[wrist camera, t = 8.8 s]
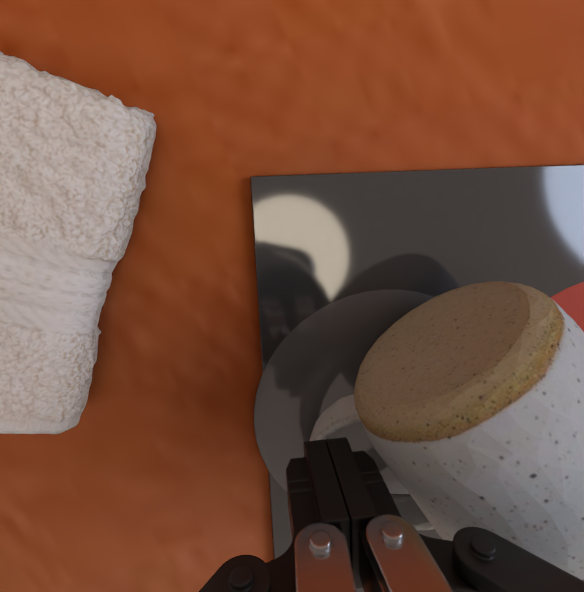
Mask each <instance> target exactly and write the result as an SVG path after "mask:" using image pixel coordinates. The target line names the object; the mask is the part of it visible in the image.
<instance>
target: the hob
mask: <svg viewBox="0 0 584 592" xmlns="http://www.w3.org/2000/svg"><path fill="white" fill-rule="evenodd" d="M250 178H251V194H252V210H253V226H254V242H255V258H256V274H257V290H258V306H259V322H260V338H261V354H262V370H263V374H262V376H261V379H260V382H259V386H258V389H257V393H256V399H255V406H254V428H255V435H256V441H257V444H258V447H259V451H260V454H261V456H262V458H263V460H264V462H265V464H266V467H267V468H268V470H269V481H270V497H271V513H272V529H273V545H274V559H276V558H278V557H280V556H281V555H282V554H284V553H285V552H286V551H287V549H288V548H289V547H290V545H291V543H292V535H291V526H290V518H289V510H288V496H287V480H286V468H287V466H288V464H289V461H290V459H292V458H301V457H304V442H305V441H310V437H311V434H312V431H313V428H314V426H315V423H316V421H317V420H318V418H319V417H320V415H321V414H322V413H323V412H324V411H325V410H326V409H327V408H329V407H330V406H331V405H332V404H333V403H335V402H336V401H337V400H338V399H341V398H343V397H346V396H348V395H352V394H354V388H355V382H356V379H357V375H358V372H359V368H360V365H361V363H362V362H363V360H364V358H365V356H366V354H367V352H368V351H369V350H370V348H371V347H372V346H373V344H374V343H375V342H376V341H377V339H378V338H379V337H380V336H381V335H382V334H383V333H384V332H386V331H387V330H388V329H389V328H390V327H391V326H392V325H393V324H394V323H395V322H396V321H398V320H399V319H400V318H402V317H403V316H404V315H406V314H407V313H408V312H410V311H411V310H413V309H415V308H416V307H418V306H420V305H421V304H423V303H425V302H427V301H428V300H430V299H432V298H434V297H436V296H438V295H441V294H443V293H445V292H448V291H450V290H453V289H457V288H460V287H464V286H467V285H470V284H476V283H482V282H489V281H502V282H511V283H519V284H523V285H526V286H530V287H533V288H535V289H537V290H539V291H541V292H543V293H544V294H546V295H547V296H548V297H550V298H551V299H552V300H554V301H555V302H556V303H557V304H558V305H559V306H560V307H561V308H562V309H563V310H564V311H565V312H566V313H567V314H568V315H569V316H570V317H571V318H572V319H573V320H574V321H575V322H576V324H577V325H578V326H579V327H580V328H581V329H582V330H583V332H584V165H557V166H529V167H501V168H474V169H446V170H418V171H391V172H363V173H335V174H307V175H280V176H252V177H250ZM342 437H346V438H347V439H348V442H349V444H350V447H351V449H352V452H355V451H365V452H366V453H367V454H368V455H369V456H370V457H372V458H373V459H374V461H375V463H376V465H377V467H378V469H379V472H380V473H381V475H382V477H383V479H384V482H385V484H386V486H387V488H388V490H389V492H390V493H391V494H409V492H408V491H407V490H406V488H405V487H404V486H403V485H402V483H401V482H400V481H399V480H398V479H397V478H396V476H395V475H394V474H393V473H392V472H391V470H390V469H389V467H388V466H387V465H386V463H385V462H384V461H383V459H382V458H381V457H380V455H379V454H378V453H377V451H376V450H375V448H374V446H373V444H372V442H371V441H370V439H369V437H368V435H367V434H366V431H365V429H364V427H363V425H362V422H361V421H360V422H354V423H352V424H350V425H348V426H346V427H342V428H340V429H339V430H337V431H336V432H334V433H332V434H330V435H329V436H327V438H326V439H332V438H342ZM417 532H418V533H419V534H422V535H424V536H427V537H431V538H436V539H442V538H441V537H440V535H439V534H438V533H437V531H436V530H435V529H433V530H419V531H417ZM442 540H443V539H442ZM356 592H364V590H363V588H359V589H356Z"/></svg>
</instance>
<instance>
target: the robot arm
mask: <svg viewBox="0 0 584 592" xmlns="http://www.w3.org/2000/svg"><path fill="white" fill-rule="evenodd" d="M286 480H287V496H288V510H289V518H290V526H291V535H292V543H291V545H290V547H289V548H288V549H287V551H286V552H285V553H284V554H282V555H281V556H280V557H278V558H276V559H274V560H272V561H270V562H268V563H265V562H264V561H263V560H261V559H260V558H258V557H256V556H252V555H240V556H236V557H234V558H231V559H230V560H228V561H226V562H225V563H224V564H223V565H222V566H221V567H220V568H219V569H218V570H217V571H216V573H215V574H214V575H213V576H212V577H211V578H210V580H209V581H208V582H207V583H206V584H205V585H204V586H203V588H202V589H201V590H200V591H199V592H356V589H359V588H363V590H364V592H584V581H583V580H581V579H579V578H577V577H575V576H573V575H571V574H569V573H568V572H566V571H564V570H562V569H560V568H558V567H556V566H555V565H553V564H551V563H549V562H547V561H545V560H543V559H541V558H540V557H538V556H536V555H534V554H532V553H530V552H528V551H527V550H525V549H523V548H521V547H519V546H517V545H515V544H513V543H512V542H510V541H508V540H506V539H504V538H502V537H500V536H499V535H497V534H495V533H493V532H491V531H489V530H486V529H483V528H479V527H465V528H462V529H460V530H458V531H457V532H456V533H455V535H454V537H453V541H449V540H442V539H436V538H431V537H427V536H424V535H422V534H419V533H418V532H417V530H416V528H415V527H414V526H413V525H412V524H411V523H410V522H409V521H407V520H406V519H404V518H402V517H401V515H400V513H399V511H398V509H397V507H396V504H395V502H394V500H393V498H392V496H391V494H390V492H389V490H388V488H387V486H386V484H385V482H384V479H383V477H382V475H381V473H380V472H379V469H378V467H377V465H376V463H375V461H374V459H373V458H372V457H370V456H369V455H368V454H367V453H366V452H365V451H355V452H352V449H351V447H350V444H349V442H348V439H347V438H346V437H342V438H332V439H325V440H314V441H305V442H304V457H301V458H292V459H290V461H289V464H288V466H287V468H286Z"/></svg>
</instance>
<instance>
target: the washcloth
mask: <svg viewBox="0 0 584 592" xmlns="http://www.w3.org/2000/svg"><path fill="white" fill-rule="evenodd" d="M153 117H154V114H153V113H151V112H147V111H145V110H143V109H139V108H138V107H126V106H124V105H123V104H122V102H121V101H120V99H117V98H115V97H114V96H112V95H110V96H108V97H106V96H104V95H103V94H102V93H101V92H99V91H98V90H96V89H91V88H87V87H85V86H81V85H79V84H76V83H74V82H72V81H70V80H66V79H65V78H63V77H59V76H54V75H51V74H49V73H48V72H46V71H42V72H40V71H38V70H36V69H35V68H34V67H33V66H31V65H30V64H29V63H27V62H26V61H25V60H22V59H19V58H17V57H14V56H6V55H4V54H3V53H2V52H0V433H4V434H9V433H12V434H38V433H39V434H45V433H46V434H60V433H62V432H64V431H66V430H68V429H71V428H73V427H75V426H76V425H77V424H78V423H79V421H80V416H81V414H82V411H83V410H84V408H85V406H86V404H87V400H88V394H89V388H90V385H91V382H92V373H93V366H94V364H95V363H96V361H97V353H98V338H99V335H100V333H101V331H100V330H99V328H98V326H97V325H98V321H99V317H100V312H101V309H102V306H103V305H104V303H105V299H106V296H107V293H106V292H107V290H108V289H109V288H110V285H111V281H112V272H113V270H114V268H115V266H116V264H117V262H118V261H119V260H120V259H122V257H123V256H124V253H125V251H126V248H127V245H128V243H129V240H130V237H131V234H132V231H133V221H134V218H135V216H136V214H137V213H138V208H139V201H140V195H141V193H142V191H143V190H144V189H145V187H146V182H145V175H146V173H147V171H148V167H149V162H150V159H151V154H152V148H153V144H154V140H155V138H156V128H157V126H156V123H155V121H154V119H153Z"/></svg>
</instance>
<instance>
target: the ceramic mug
mask: <svg viewBox="0 0 584 592" xmlns="http://www.w3.org/2000/svg"><path fill="white" fill-rule="evenodd" d="M360 421H361V422H362V425H363V427H364V429H365V431H366V434H367V435H368V437H369V439H370V441H371V442H372V444H373V446H374V448H375V450H376V451H377V453H378V454H379V455H380V457H381V458H382V459H383V461H384V462H385V463H386V465H387V466H388V467H389V469H390V470H391V472H392V473H393V474H394V475H395V476H396V478H397V479H398V480H399V481H400V482H401V483H402V485H403V486H404V487H405V488H406V490H407V491H408V492H409V494H391V493H390V494H391V496H392V498H393V500H394V502H395V504H396V507H397V509H398V511H399V513H400V515H401V517H402V518H404V519H406V520H407V521H409V522H410V523H411V524H412V525H413V526H414V527H415V528H416V530H417V531H419V530H433V529H435V530H436V531H437V533H438V534H439V535H440V537H441V538H442V539H443V540H449V541H453V537H454V535H455V533H456V532H457V531H458V530H460V529H462V528H465V527H479V528H483V529H486V530H489V531H491V532H493V533H495V534H497V535H499V536H500V537H502V538H504V539H506V540H508V541H510V542H512V543H513V544H515V545H517V546H519V547H521V548H523V549H525V550H527V551H528V552H530V553H532V554H534V555H536V556H538V557H540V558H541V559H543V560H545V561H547V562H549V563H551V564H553V565H555V566H556V567H558V568H560V569H562V570H564V571H566V572H568V573H569V574H571V575H573V576H575V577H577V578H579V579H581V580H583V581H584V332H583V330H582V329H581V328H580V327H579V326H578V325H577V324H576V322H575V321H574V320H573V319H572V318H571V317H570V316H569V315H568V314H567V313H566V312H565V311H564V310H563V309H562V308H561V307H560V306H559V305H558V304H557V303H556V302H555V301H554V300H552V299H551V298H550V297H548V296H547V295H546V294H544V293H543V292H541V291H539V290H537V289H535V288H533V287H530V286H526V285H523V284H519V283H511V282H502V281H489V282H482V283H476V284H470V285H467V286H464V287H460V288H457V289H453V290H450V291H448V292H445V293H443V294H441V295H438V296H436V297H434V298H432V299H430V300H428V301H427V302H425V303H423V304H421V305H420V306H418V307H416V308H415V309H413V310H411V311H410V312H408V313H407V314H406V315H404V316H403V317H402V318H400V319H399V320H398V321H396V322H395V323H394V324H393V325H392V326H391V327H390V328H389V329H388V330H387V331H386V332H384V333H383V334H382V335H381V336H380V337H379V338H378V339H377V341H376V342H375V343H374V344H373V346H372V347H371V348H370V350H369V351H368V352H367V354H366V356H365V358H364V360H363V362H362V363H361V365H360V368H359V372H358V375H357V379H356V382H355V388H354V394H352V395H348V396H346V397H343V398H341V399H338V400H337V401H336V402H335V403H333V404H332V405H331V406H330V407H329V408H327V409H326V410H325V411H324V412H323V413H322V414H321V415H320V417H319V418H318V420H317V421H316V423H315V426H314V428H313V431H312V434H311V437H310V441H314V440H325V439H326V438H327V436H329V435H330V434H332V433H334V432H336V431H337V430H339V429H340V428H342V427H346V426H348V425H350V424H352V423H354V422H360Z"/></svg>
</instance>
